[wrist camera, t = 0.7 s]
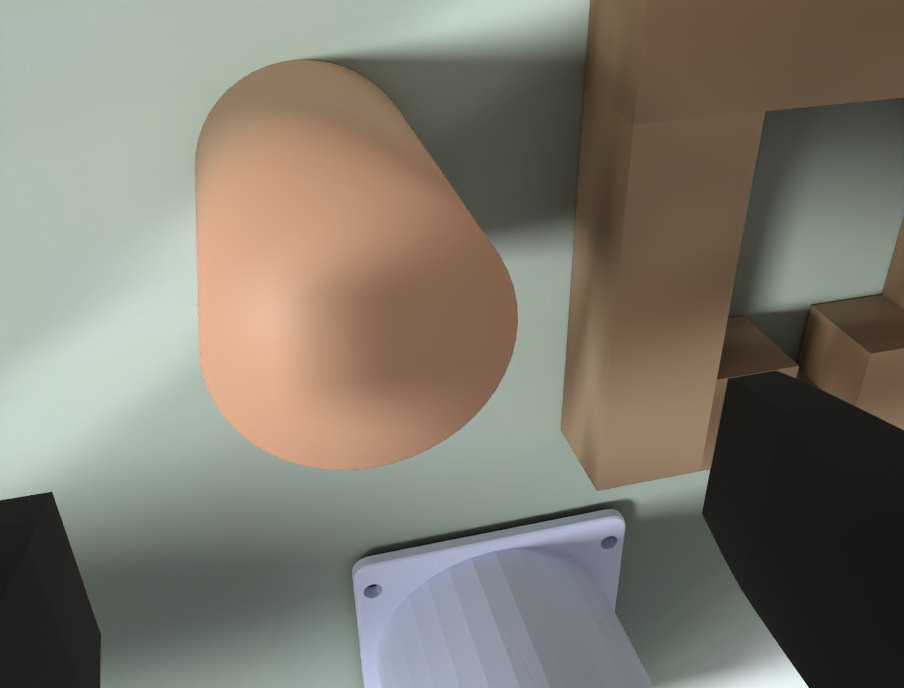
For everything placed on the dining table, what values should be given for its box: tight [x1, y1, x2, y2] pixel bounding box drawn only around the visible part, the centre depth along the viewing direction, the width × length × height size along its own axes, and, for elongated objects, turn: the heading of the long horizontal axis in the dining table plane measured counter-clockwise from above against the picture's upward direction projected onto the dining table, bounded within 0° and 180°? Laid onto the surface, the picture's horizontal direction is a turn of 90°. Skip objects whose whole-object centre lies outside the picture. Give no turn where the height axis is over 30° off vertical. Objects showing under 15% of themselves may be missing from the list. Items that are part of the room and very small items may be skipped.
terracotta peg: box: [195, 60, 518, 470], centre depth 15 cm, size 4×4×7 cm
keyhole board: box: [561, 0, 904, 491], centre depth 20 cm, size 12×12×2 cm
